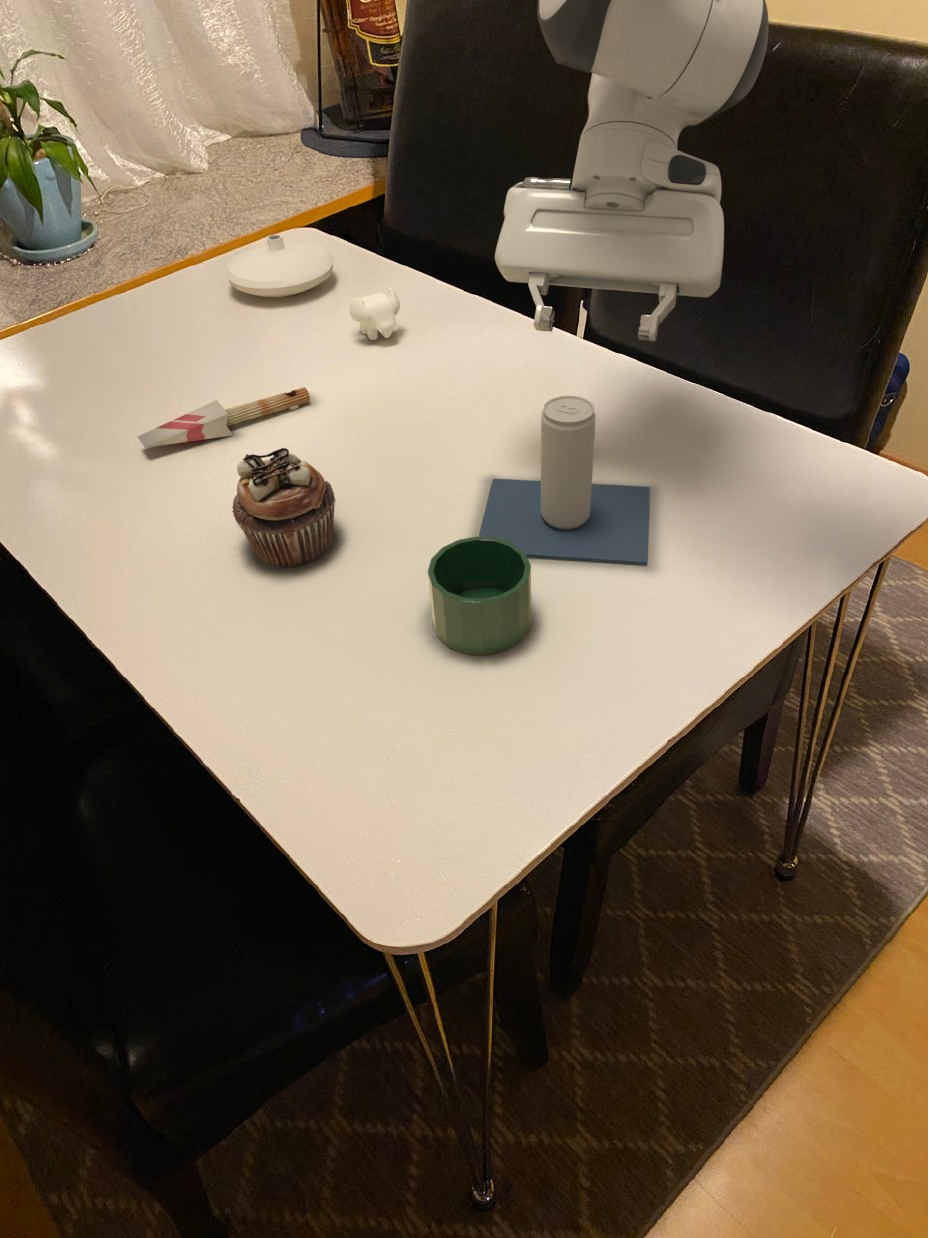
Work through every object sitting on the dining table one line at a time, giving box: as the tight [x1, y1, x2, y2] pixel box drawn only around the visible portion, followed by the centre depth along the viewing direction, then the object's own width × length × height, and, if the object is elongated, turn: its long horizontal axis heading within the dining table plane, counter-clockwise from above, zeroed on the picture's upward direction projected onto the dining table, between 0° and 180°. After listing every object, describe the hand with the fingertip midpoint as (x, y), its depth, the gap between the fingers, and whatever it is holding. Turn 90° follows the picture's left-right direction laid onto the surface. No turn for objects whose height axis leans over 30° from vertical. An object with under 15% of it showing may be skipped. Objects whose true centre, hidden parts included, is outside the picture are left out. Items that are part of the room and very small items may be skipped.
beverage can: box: [540, 395, 597, 530], centre depth 84 cm, size 5×5×12 cm
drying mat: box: [478, 478, 650, 566], centre depth 88 cm, size 16×12×1 cm
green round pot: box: [427, 535, 532, 656], centre depth 76 cm, size 8×8×6 cm
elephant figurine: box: [349, 287, 401, 341], centre depth 117 cm, size 7×8×6 cm
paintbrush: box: [137, 386, 311, 448], centre depth 103 cm, size 4×3×20 cm
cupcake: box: [231, 447, 337, 568], centre depth 84 cm, size 10×10×10 cm
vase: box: [225, 233, 334, 298], centre depth 130 cm, size 16×16×7 cm
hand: (593, 333), depth 80 cm, fingers open, 8 cm apart
